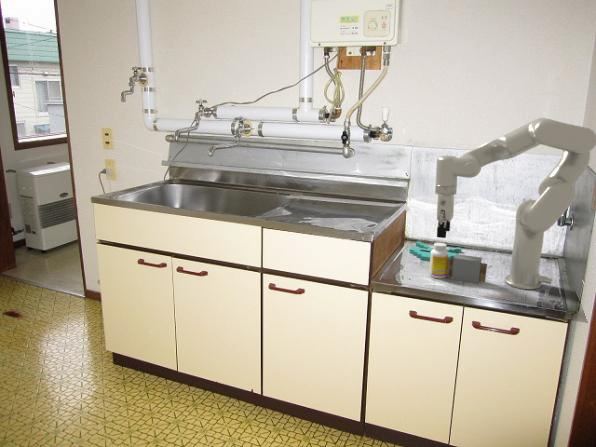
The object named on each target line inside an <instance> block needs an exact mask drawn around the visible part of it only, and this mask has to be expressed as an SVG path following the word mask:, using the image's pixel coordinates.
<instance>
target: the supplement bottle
mask: <svg viewBox="0 0 596 447" xmlns="http://www.w3.org/2000/svg"><path fill="white" fill-rule="evenodd" d="M433 248H434V249H433V250H432V251H431V254H430V261H429V268H428V275H429V276H430V277H431V278H434V279H444V278H446V273H447V263H448V252H447V251H446V249H447V244H446V243H444V242H434V244H433Z"/></svg>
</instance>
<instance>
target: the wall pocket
mask: <svg viewBox="0 0 596 447" xmlns="http://www.w3.org/2000/svg"><path fill="white" fill-rule="evenodd" d="M482 260H483V258H482V257H480V256H472V255H465V254H460V253H457V254H455V256H454V261H453V272H452V277H451V281H452V280H454V281H453V282H459V281H460V282H459V283H467V284H471V283H472V285H479V283H480V282H479V274H480V265H481V263H482Z"/></svg>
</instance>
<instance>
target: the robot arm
mask: <svg viewBox="0 0 596 447" xmlns="http://www.w3.org/2000/svg"><path fill="white" fill-rule="evenodd" d="M540 145H542V146H546V147H549V148H553V149H558V150H561V151H562V156H561V158H560V159H559V161H558V162H557V163H556V165H555V166H554V167H553V168H552V169H551V171H550V172H549V173H548V175H547V176H546V177H545V178H544V179H543V180H542V182H541V183H540V184H539V186H538V195H539V197H538V198H537V200H536V199H527V200H525V201H523V202H521V204H519V205H518V207H517V210H516V212H515V230H514V239H513V244H512V255H511V261H510V269H509V270H510V271H509V274H508V275H506V276H505V277H504V282H505V284H507V285H509V286H511V287H514V288H517V289H524V290H537V289H540V288H542V283H545V284H549V285H551V284H552V278H549V276H545V275H544V276H543V275H541V274H540V264H541V257H542V249H543V243H544V236H545V235H544V234H545V232H546V231H548V230H549V229H550V228H551V227H553V226H554V225H555V223H557V222H558V220H559V219H560V218H561V217H562V216H563V215H564V213H565V212H566V211H567V210H568V209H569V208H570V206H572V204H573V202H574V200H575V196H576V189H575V187H574V185H575V184H576V183H577V182H578V180H579V179H580V178H581V176H582V175H583V174H584V172H585V171H586V170H587V168H588V165H589V162H590V158H591V152H592V150H593V149H594V148H595V147H596V132H595V131H594V130H592V129H591V128H589V127H584V126H581V125H575V124H571V123H565V122H561V121H558V120H554V119H550V118H546V117H540V118H537V119H534V120H532V121H529V122H527V123H526V124H524V125H522V126H520V127H518V128H516V129H514V130H512V131H510V132H508V133H506V134H504V135H502V136H499V137H498V138H494V139H493V140H491V141H488V142H486V143H484V144H482V145H480V146H477V147H475V148H474V149H472V150H470V151H467V152H466V153H464V154H463V155H461V156H460V157H456V156H455V155H454V156H453V155H441V156H440V155H439V157H437V159H436V171H435V189H434V190H435V192H434V194H435V195H437V203H436V204H437V205H436V207H437V208H436V221H437V230H436V237H437V238H440V239H445V238H447V232H450V230H451V221H452V220H453V219H454V212H455V211H454V210H455V208H454V207H455V206H454V205H455V204H454V201H455V195H457V188H458V186H457V185H458V177H460V178H461V177H462V178H468V179H469V178H471V179H472V178H475V177H477V176H478V175H479V174H480V173H481V171H482V168H484V167H485V166H487V165H489V164H492V163H495V162H498V161H505V160H510V159H513V158H516V157H517V156H520V155H522V154H523V153H526V152H527V151H530V150H531V149H533V148H536V147H538V146H540Z"/></svg>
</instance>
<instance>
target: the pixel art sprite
mask: <svg viewBox="0 0 596 447" xmlns="http://www.w3.org/2000/svg"><path fill="white" fill-rule="evenodd" d="M433 249H434V247H433V248H432V247H430V245H426V244H425V243H423V242H422V241H416V242H415V246H411V247H410V248H409V254H412V256H413V257H414V256H416V258H418V259H420V261H426V262H430V254H431V251H432V250H433ZM446 251H447V252H448V258H449V259H454V256H455V254H461V253H462V247H455V248H454V247H450V248H446ZM456 252H457V253H456Z"/></svg>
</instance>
